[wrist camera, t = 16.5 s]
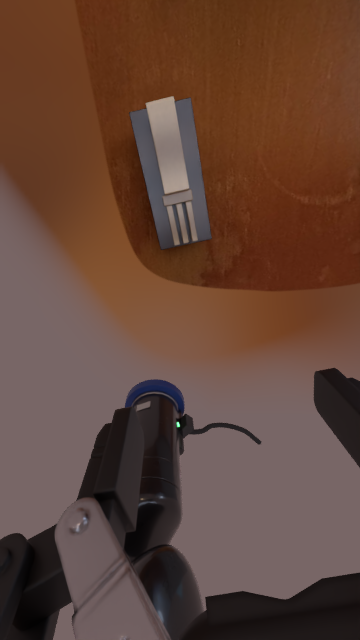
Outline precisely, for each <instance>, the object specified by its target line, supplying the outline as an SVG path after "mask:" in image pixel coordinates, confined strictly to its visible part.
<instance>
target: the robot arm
mask: <svg viewBox="0 0 360 640" xmlns="http://www.w3.org/2000/svg"><path fill="white" fill-rule="evenodd" d="M314 403H315V406H316V408H317V411H318V412H319V414H320V415H321V417H322V418H323V419H324V421H325V422H326V423H327V425H328V426H329V427H330V428H331V430H332V431H333V433H334V434H335V435H336V436H337V438H338V439H339V441H340V442H341V443H342V445H343V446H344V447H345V449H346V450H347V451H348V453H349V454H350V455H351V457H352V458H353V459H354V460H355V462H356V463H357V465H358V466H359V467H360V381H358V380H356V379H354V378H346V377H345V376H344V375H343V374H342V373H341V372H340V371H339V370H337V369H336V368H331V369H326V370H320V371H316V372H315V375H314ZM215 427H225V428H231V429H235V430H238V431H240V432H243V433H245V434H246V435H248V436H249V437H250V438H252V439H253V440H254V441H255V442H256V443H257V444H261V441H260V440H259V439H258V438H256V437H255V436H254V435H253V434H252V433H250V432H249V431H248V430H246V429H244V428H242V427H239V426H236V425H233V424H228V423H212V424H209V425H207V426H206V427H204V428H203V429H198V430H194V427H193V419H192V417H190V416H189V415H187V414H185V415H184V416H182V413H181V410H180V409H178V404H177V402H176V400H175V399H174V398H173V397H172V396H171V395H169V394H168V393H166V392H163V391H156V390H154V391H147V392H144V393H142V394H140V395H139V396H137V397H136V398H135V399H134V401H133V403H132V406H131V407H126V408H122V409H117V410H115V413H114V416H113V420H112V423H108V424H105V425H104V427H103V428H102V429H101V431H100V432H99V434H98V435H97V438H96V441H95V444H94V449H93V451H92V454H91V459H90V460H89V463H88V466H87V470H86V473H85V476H84V479H83V482H82V486H81V488H80V492H79V495H78V498H77V500H76V502H74V503H73V504H71V505H70V506H69V507H68V508H67V509H66V510H65V511H64V513H63V514H62V516H61V517H60V519H59V521H58V523H57V524H56V525H54V526H52V527H51V528H49V529H47V530H45V531H43V532H41V533H39V534H38V535H36V536H34V537H32V538H30V539H28V540H27V539H26V538H25V537H24V536H23V535H22V534H20V533H14V534H10V535H8V536H6V537H4V538H2V539H1V540H0V640H53V636H54V632H55V628H56V624H57V619H58V615H59V611H60V609H61V608H63V607H64V606H66V605H67V604H69V603H71V602H73V606H74V614H73V616H72V626H73V630H74V635H75V639H76V640H360V573H355V574H348V575H342V576H336V577H329V578H323V579H321V580H319V581H318V582H316V583H314V584H312V585H311V586H309V587H308V588H306V589H304V590H303V591H301V592H299V593H298V594H296V595H295V596H293V597H291V598H290V599H286V600H284V599H278V598H273V597H268V596H264V595H258V594H254V593H249V592H244V591H241V592H234V593H228V594H222V595H215V596H209V597H205V598H206V608H207V610H206V611H204V608H203V603H202V599H201V594H200V590H199V586H198V583H197V580H196V577H195V575H194V572H193V570H192V568H191V566H190V564H189V562H188V561H187V559H186V558H185V556H184V555H183V553H181V552H180V551H179V550H178V549H177V548H175V547H174V546H172V545H169V544H170V542H171V540H172V538H173V537H174V535H175V533H176V532H177V530H178V528H179V526H180V524H181V520H182V490H181V474H180V473H181V470H180V455H182V454H183V452H184V444H183V438H185V436H187V435H188V434H202V433H205V432H206V431H208V430H209V429H211V428H215Z"/></svg>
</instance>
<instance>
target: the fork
mask: <svg viewBox="0 0 360 640" xmlns="http://www.w3.org/2000/svg"><path fill="white" fill-rule="evenodd" d="M146 107H147V112H148V117H149V122H150V127H151V131H152V136H153V141H154V146H155V150H156V155H157V160H158V165H159V169H160V174H161V179H162V184H163V188H164V193H165V195H164V196H162V198H163V203H164V206H165V207H167V212H168V217H169V221H170V226H171V231H172V236H173V240H174V245H179V244H180V242H179V237H178V232H177V227H176V222H175V217H174V213H173V208H172V205H176V210H177V215H178V220H179V225H180V230H181V235H182V241H183V243H188V242H189V240H188V235H187V230H186V224H185V219H184V214H183V208H182V203H184V202H185V208H186V214H187V219H188V225H189V230H190V236H191V240H192V241H197V240H198V238H197V232H196V227H195V221H194V215H193V209H192V204H191V201H192V200H193V195H192V190H191V189H189V183H188V178H187V172H186V166H185V160H184V154H183V149H182V143H181V137H180V131H179V125H178V119H177V114H176V108H175V102H174V97H173V96H171V97H167V98H164V99H160V100H156V101H152V102H148V103H146ZM188 189H189V190H188Z"/></svg>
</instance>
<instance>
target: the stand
mask: <svg viewBox="0 0 360 640" xmlns="http://www.w3.org/2000/svg"><path fill="white" fill-rule="evenodd" d="M174 102H175V108H176V114H177V119H178V125H179V131H180V137H181V143H182V149H183V154H184V160H185V166H186V172H187V178H188V183H189V189H191V190H192V195H193V200H192V201H191V204H192V209H193V215H194V221H195V227H196V232H197V238H198V240H197V241H192V240H191V236H190V230H189V225H188V219H187V214H186V208H185V202H184V203H182V208H183V214H184V219H185V224H186V230H187V235H188V240H189V242H188V243H183V241H182V235H181V230H180V225H179V220H178V215H177V210H176V205H172V208H173V213H174V217H175V222H176V227H177V232H178V237H179V242H180V244H179V245H174V240H173V236H172V231H171V226H170V221H169V217H168V212H167V207H165V206H164V203H163V198H162V196H164V195H165V193H164V188H163V184H162V179H161V174H160V169H159V165H158V160H157V155H156V150H155V146H154V141H153V136H152V131H151V127H150V122H149V117H148V112H147V108H145V109H141V110H137V111H133V112H129V115H130V119H131V123H132V128H133V132H134V136H135V140H136V145H137V149H138V153H139V158H140V162H141V166H142V171H143V175H144V179H145V184H146V188H147V192H148V197H149V201H150V205H151V209H152V214H153V218H154V222H155V227H156V231H157V235H158V240H159V244H160V248H161V250H164V249H168V248H173V247H177V246H182V245H186V244H191V243H195V242H200V241H205V240H209V239H212V238H211V231H210V224H209V217H208V211H207V204H206V197H205V190H204V184H203V177H202V170H201V163H200V156H199V150H198V143H197V136H196V129H195V122H194V116H193V109H192V102H191V98H186V99H182V100H178V101H174ZM189 189H188V190H189Z"/></svg>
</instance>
